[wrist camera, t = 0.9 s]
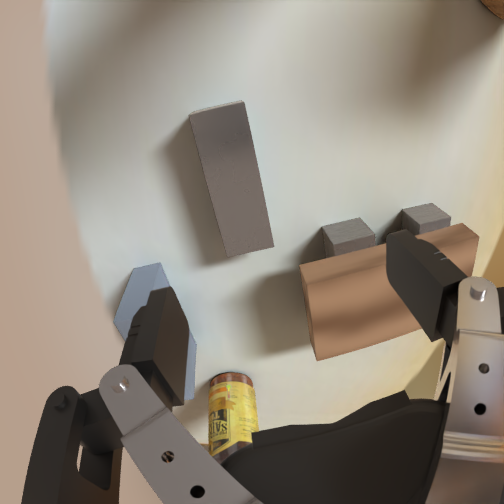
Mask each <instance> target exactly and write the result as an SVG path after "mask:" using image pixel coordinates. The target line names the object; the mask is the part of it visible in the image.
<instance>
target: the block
mask: <svg viewBox="0 0 504 504" xmlns="http://www.w3.org/2000/svg"><path fill="white" fill-rule="evenodd" d="M481 1H482V3H483V4H484V5H486V6H487V7H488V9H489V10H490V11H492V12H493V13H494V14H495V15H497V16H498V17H499V18H502V19H504V0H481Z"/></svg>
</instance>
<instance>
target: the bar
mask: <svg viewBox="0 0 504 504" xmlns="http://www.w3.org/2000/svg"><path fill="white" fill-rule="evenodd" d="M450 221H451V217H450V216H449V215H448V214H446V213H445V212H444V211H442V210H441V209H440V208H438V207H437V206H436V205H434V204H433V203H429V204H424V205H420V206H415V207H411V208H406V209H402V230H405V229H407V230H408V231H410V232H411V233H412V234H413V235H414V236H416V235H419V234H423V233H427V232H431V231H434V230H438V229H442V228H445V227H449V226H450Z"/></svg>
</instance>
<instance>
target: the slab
mask: <svg viewBox="0 0 504 504" xmlns="http://www.w3.org/2000/svg"><path fill="white" fill-rule="evenodd" d="M415 237H416V238H417V239H423V240H425V241H427V242H429V243H432V244H433V245H434V246H435V247H436V248H438V249H439V250H440V252H442V253H443V254H444V255H445V256H446V257H447V259H448V258H449V259H450V260H451V261H452V262H453V263H454V264H455V265H456V266H457V267H458V268H459V269H460V270H462V271H463V272H464V273H465V274H466V275H467V276H468V277H471V276H472V272H473V267H474V262H475V257H476V252H477V247H478V241H479V236H478V235H477V234H476V233H474V232H473V231H472V230H471V229H469V228H468V227H467V226H465V225H464V224H463V223H460V224H456V225H453V226H449V227H445V228H442V229H438V230H434V231H431V232H427V233H423V234H419V235H416V236H415ZM299 267H300V273H301V280H302V286H303V293H304V299H305V306H306V313H307V320H308V327H309V334H310V341H311V344H312V347H313V350H314V354H315V357H316V360H317V361H320V360H324V359H327V358H331V357H335V356H338V355H342V354H345V353H349V352H352V351H356V350H359V349H362V348H366V347H369V346H372V345H375V344H378V343H381V342H384V341H387V340H390V339H393V338H396V337H399V336H402V335H405V334H408V333H410V332H413V331H416V330H419V329H421V328H422V327H421V326H420V324H419V323H418V322H417V320H416V319H415V317H414V316H413V315H412V313H411V312H410V310H409V309H408V308H407V306H406V305H405V304H404V302H403V301H402V299H401V298H400V297H399V295H398V294H397V293H396V291H395V290H394V289H393V287H392V286H391V285H390V283H389V281H388V278H387V273H386V243H385V244H381V245H377V246H374V247H370V248H366V249H362V250H358V251H354V252H350V253H346V254H342V255H338V256H334V257H330V258H326V259H322V260H318V261H314V262H309V263H305V264H301V265H299Z"/></svg>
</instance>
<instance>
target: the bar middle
mask: <svg viewBox="0 0 504 504" xmlns="http://www.w3.org/2000/svg"><path fill="white" fill-rule="evenodd" d="M322 231H323V239H324V247H325V255H326V258H330V257H334V256H338V255H342V254H346V253H350V252H354V251H358V250H362V249H366V248H370V247H374V246H375V234H374V233H373V231H372V230H371V229H370V228H369V227H368V226H367V225H366V224H365V223H364V222H363V220H362V219H361V218H355V219H351V220H347V221H343V222H339V223H334V224H330V225H326V226H322Z"/></svg>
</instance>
